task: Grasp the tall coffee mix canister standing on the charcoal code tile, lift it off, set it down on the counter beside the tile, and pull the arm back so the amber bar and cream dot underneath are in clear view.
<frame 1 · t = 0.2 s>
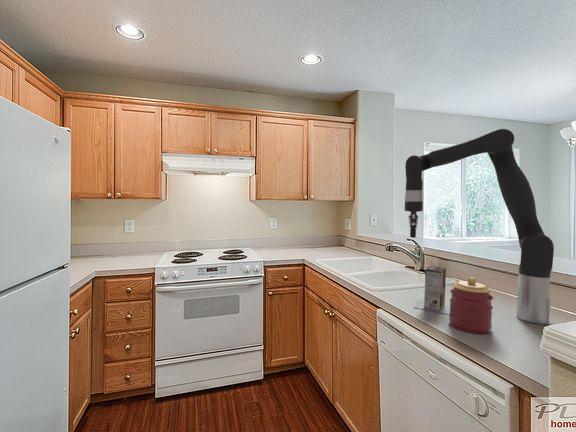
hand: (412, 236, 134), 29 cm above the table, tool pointing down, fingers open, 8 cm apart
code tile: (434, 306, 125), on the table
coffee box: (434, 306, 125), resting on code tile
canister: (469, 327, 105), on the table
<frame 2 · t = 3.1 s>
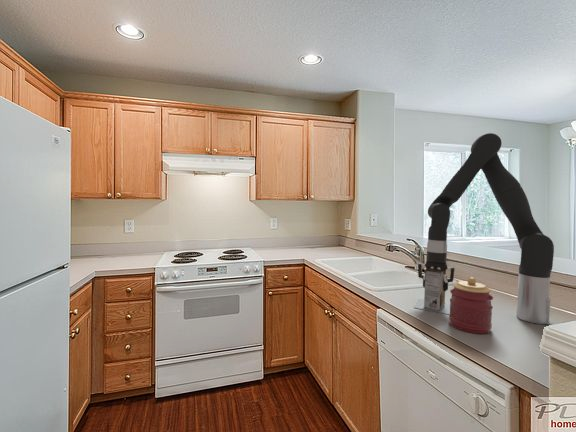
hand: (434, 289, 125), 7 cm above the table, tool pointing down, fingers closed on coffee box, 7 cm apart
coffee box: (434, 306, 125), resting on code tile, touching gripper
everything else where it was.
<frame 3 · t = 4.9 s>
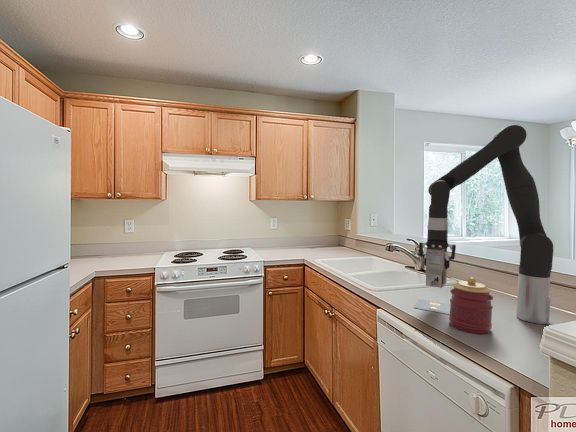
hand: (436, 267, 124), 17 cm above the table, tool pointing down, fingers closed on coffee box, 7 cm apart
coffee box: (436, 285, 125), point 9 cm above the table, touching gripper
everything else where it was.
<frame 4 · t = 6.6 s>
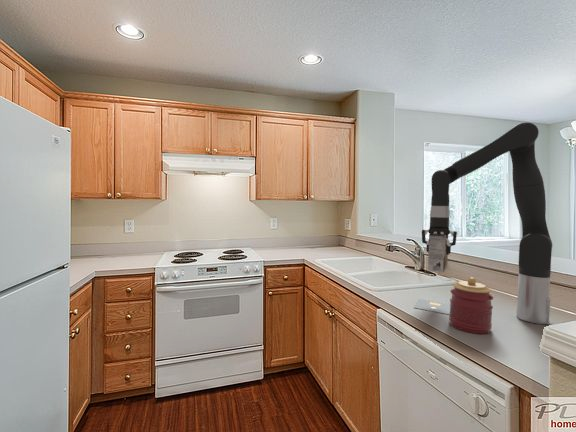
hand: (438, 253, 130), 22 cm above the table, tool pointing down, fingers closed on coffee box, 7 cm apart
coffee box: (437, 270, 131), point 14 cm above the table, touching gripper
everything else where it was.
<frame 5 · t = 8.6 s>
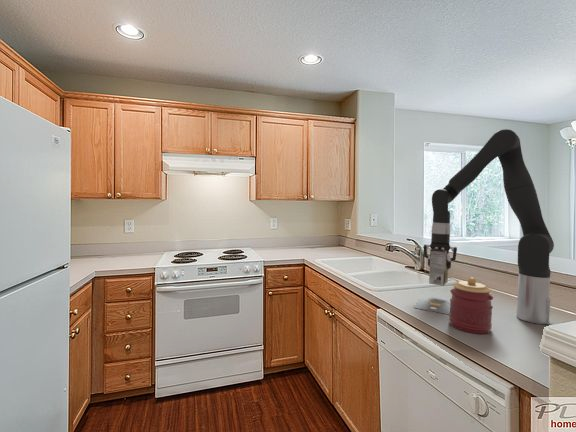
hand: (439, 267, 138), 14 cm above the table, tool pointing down, fingers closed on coffee box, 7 cm apart
coffee box: (438, 283, 138), point 7 cm above the table, touching gripper
everything else where it was.
when the fingers open (8 cm above the table, at t = 10.2 s): coffee box drops 1 cm, on the table.
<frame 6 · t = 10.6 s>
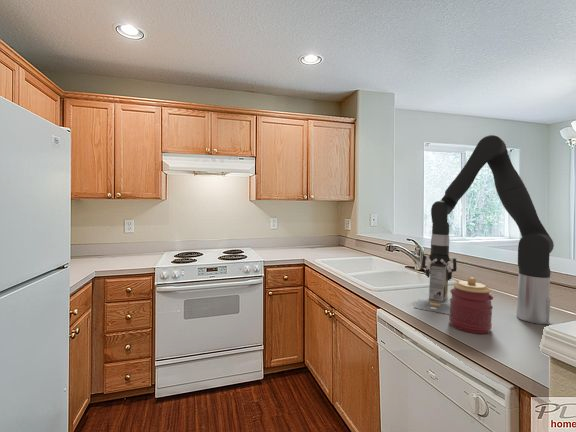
hand: (438, 278, 138), 9 cm above the table, tool pointing down, fingers open, 8 cm apart
coffee box: (438, 298, 138), on the table
everything else where it was.
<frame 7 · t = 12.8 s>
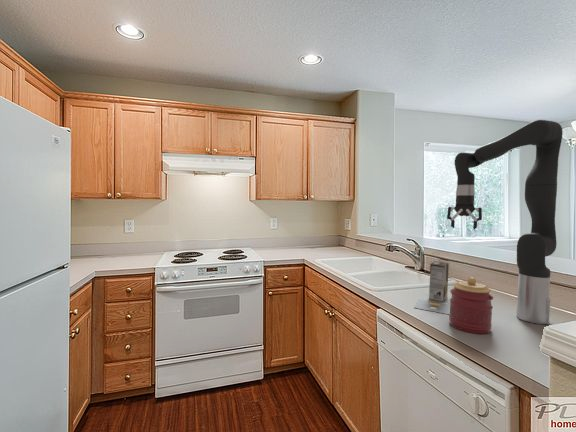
hand: (463, 228, 141), 32 cm above the table, tool pointing down, fingers open, 8 cm apart
nothing on the table moved.
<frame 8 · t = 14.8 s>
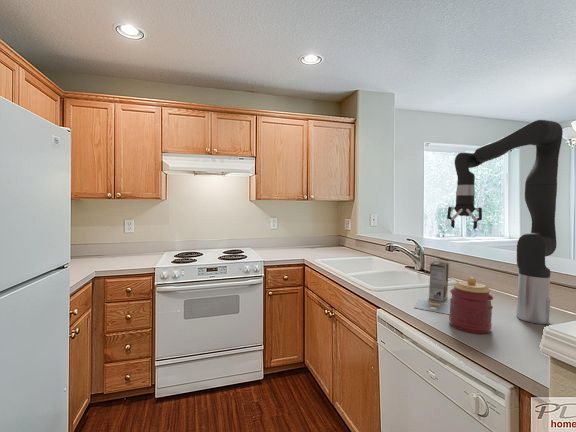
hand: (463, 228, 141), 32 cm above the table, tool pointing down, fingers open, 8 cm apart
nothing on the table moved.
at the end: coffee box inside the target area (0.2 cm from its centre), on the table; coffee box tilted 0°; coffee box touching table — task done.
